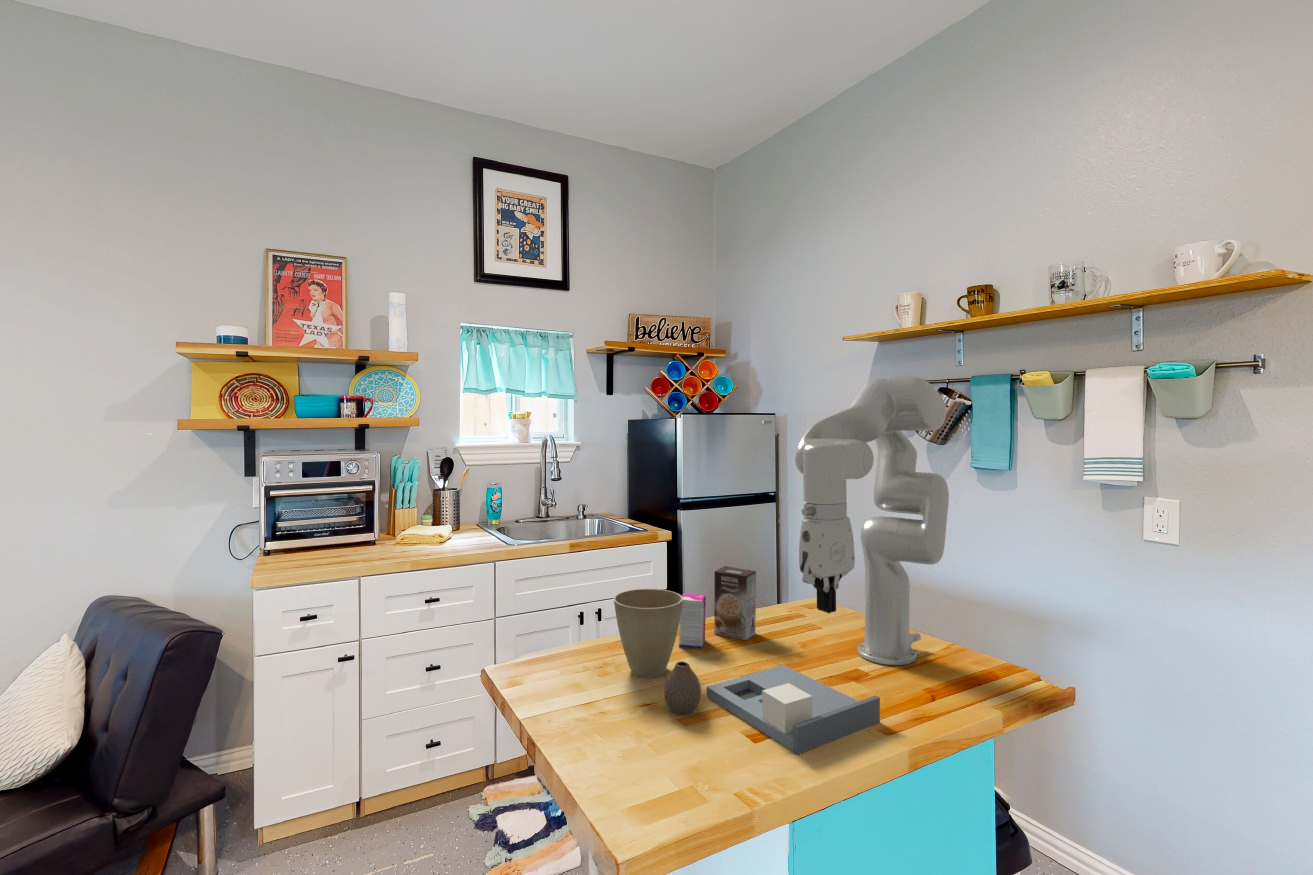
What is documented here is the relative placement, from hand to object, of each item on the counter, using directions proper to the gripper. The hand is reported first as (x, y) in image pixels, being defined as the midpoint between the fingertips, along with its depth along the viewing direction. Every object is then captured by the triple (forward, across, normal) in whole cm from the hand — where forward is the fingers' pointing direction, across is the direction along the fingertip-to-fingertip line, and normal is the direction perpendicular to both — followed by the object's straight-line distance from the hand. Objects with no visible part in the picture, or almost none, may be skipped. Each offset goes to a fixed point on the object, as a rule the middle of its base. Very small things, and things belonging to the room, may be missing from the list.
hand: (826, 610), depth 116 cm
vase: (+19, -22, +16) cm, 33 cm away
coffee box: (+20, +12, +42) cm, 49 cm away
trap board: (+19, -5, +5) cm, 21 cm away
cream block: (+17, -12, -1) cm, 20 cm away
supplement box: (+20, -1, +42) cm, 47 cm away
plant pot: (+19, -18, +34) cm, 43 cm away
